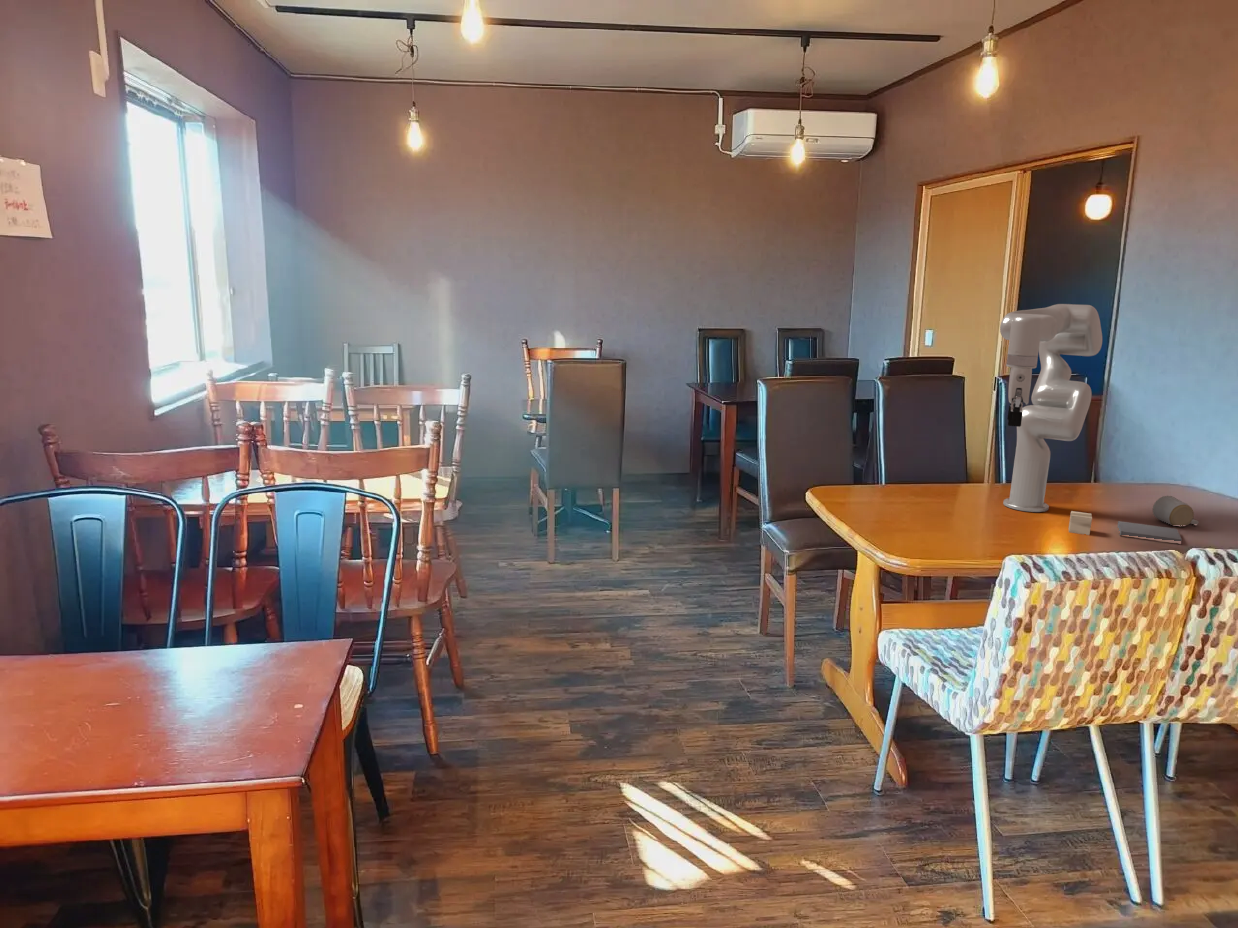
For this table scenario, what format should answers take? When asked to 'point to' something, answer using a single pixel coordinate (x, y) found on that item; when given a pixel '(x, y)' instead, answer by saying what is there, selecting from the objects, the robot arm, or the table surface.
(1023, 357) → the robot arm
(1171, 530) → the serving board
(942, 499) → the table surface
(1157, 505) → the ceramic mug
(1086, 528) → the beech cube
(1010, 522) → the table surface
